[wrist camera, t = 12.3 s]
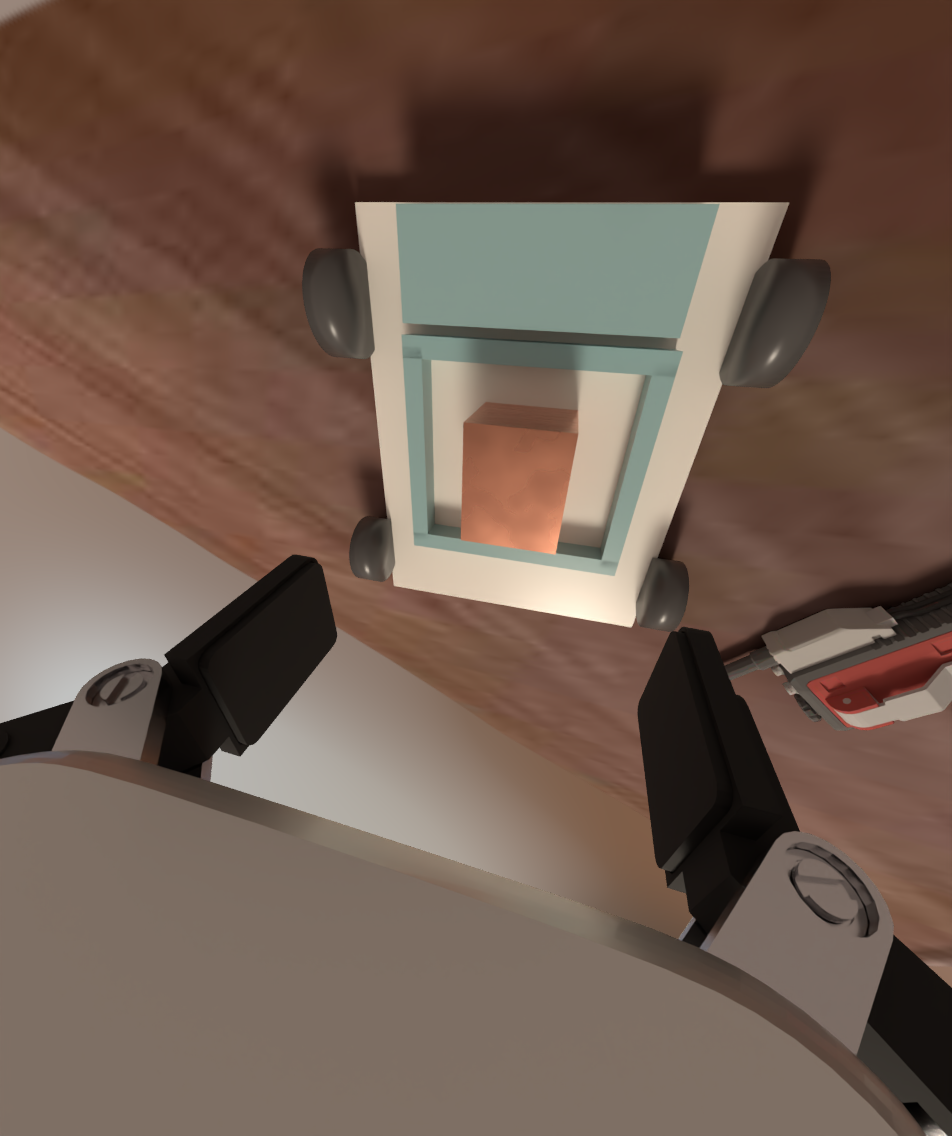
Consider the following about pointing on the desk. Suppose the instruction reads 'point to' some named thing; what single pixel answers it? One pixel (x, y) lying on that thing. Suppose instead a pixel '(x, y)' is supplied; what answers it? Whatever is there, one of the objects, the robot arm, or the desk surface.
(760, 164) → the desk surface
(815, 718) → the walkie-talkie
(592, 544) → the chassis
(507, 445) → the orange-brown block
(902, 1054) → the robot arm
